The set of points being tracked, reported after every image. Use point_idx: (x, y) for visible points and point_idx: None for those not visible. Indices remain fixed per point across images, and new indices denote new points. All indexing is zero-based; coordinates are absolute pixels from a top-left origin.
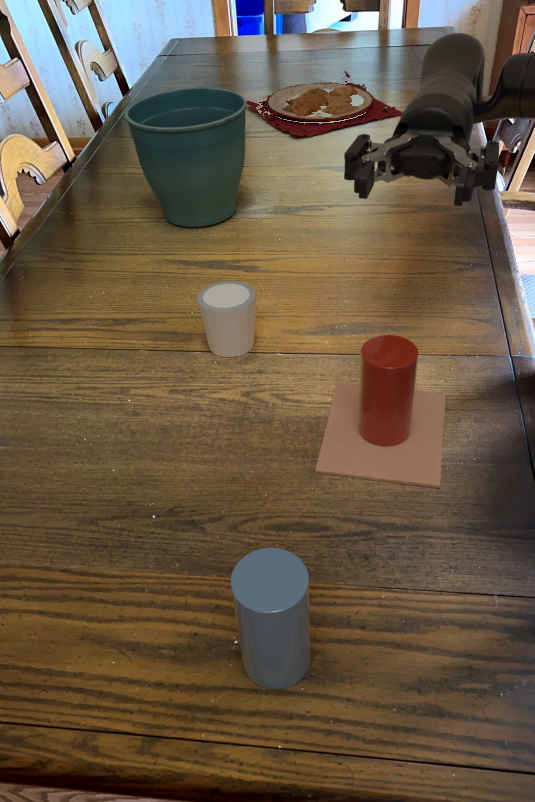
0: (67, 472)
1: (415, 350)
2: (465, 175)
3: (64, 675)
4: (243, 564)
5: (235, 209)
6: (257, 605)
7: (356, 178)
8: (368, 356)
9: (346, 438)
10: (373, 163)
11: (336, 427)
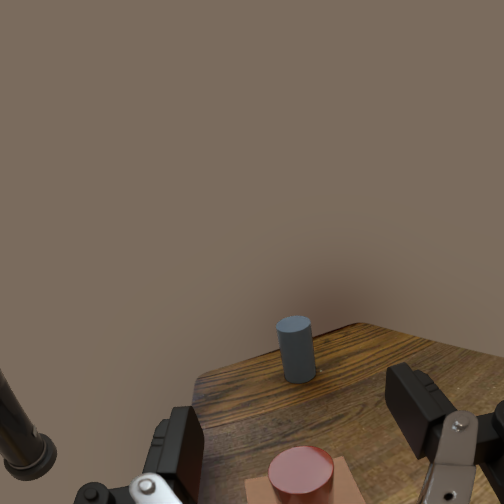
0: (474, 373)
1: (272, 479)
2: (168, 434)
3: (372, 337)
4: (307, 322)
5: None
6: (291, 317)
7: (415, 371)
8: (319, 453)
9: (336, 491)
10: (425, 413)
11: (351, 497)
